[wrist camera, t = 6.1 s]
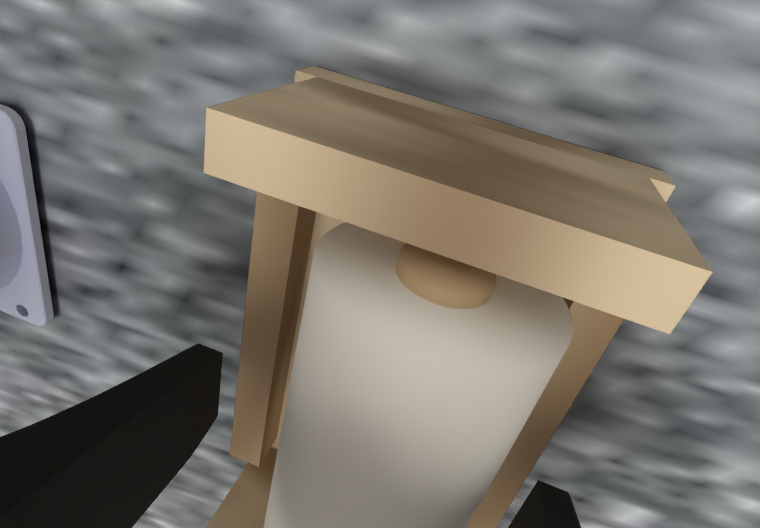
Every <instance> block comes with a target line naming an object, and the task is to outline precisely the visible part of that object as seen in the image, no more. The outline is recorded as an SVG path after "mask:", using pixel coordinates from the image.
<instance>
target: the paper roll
mask: <svg viewBox="0 0 760 528" xmlns="http://www.w3.org/2000/svg"><path fill="white" fill-rule="evenodd" d="M572 335H573V322H572V317H571V314H570V311H569V309H568V306H567V304H566V303H565V301H564V299H563V298H562V297H560V296H557V295H555V294H552V293H549V292H546V291H543V290H540V289H537V288H534V287H532V286H529V285H526V284H523V283H520V282H517V281H514V280H511V279H508V278H506V277H503V276H500V275H497V274H494V273H491V272H488V271H485V270H482V269H480V268H477V267H474V266H471V265H468V264H465V263H462V262H459V261H457V260H454V259H451V258H448V257H445V256H442V255H439V254H436V253H433V252H431V251H428V250H425V249H422V248H419V247H416V246H413V245H410V244H407V243H405V242H402V241H399V240H396V239H393V238H390V237H387V236H384V235H382V234H379V233H376V232H373V231H370V230H367V229H364V228H361V227H358V226H356V225H353V224H350V223H347V222H345V223H342V224H340V225H338V226H336V227H334V228H332V229H331V230H329V231H328V232H327V233H326V234H325V235H323V237H322V238H321V239H320V240H319V242H318V243H317V245H316V247H315V250H314V254H313V259H312V265H311V270H310V276H309V281H308V287H307V292H306V298H305V303H304V309H303V314H302V319H301V325H300V330H299V336H298V341H297V347H296V352H295V358H294V363H293V369H292V374H291V380H290V385H289V391H288V396H287V402H286V407H285V413H284V418H283V424H282V429H281V435H280V440H279V446H278V451H277V457H276V462H275V467H274V473H273V478H272V484H271V489H270V495H269V500H268V506H267V511H266V517H265V522H264V528H467V526H468V524H469V522H470V521H471V519H472V517H473V515H474V513H475V512H476V510H477V508H478V506H479V505H480V503H481V501H482V499H483V497H484V496H485V494H486V492H487V490H488V489H489V487H490V485H491V483H492V481H493V480H494V478H495V476H496V474H497V473H498V471H499V469H500V467H501V465H502V464H503V462H504V460H505V458H506V457H507V455H508V453H509V451H510V449H511V448H512V446H513V444H514V442H515V441H516V439H517V437H518V435H519V433H520V432H521V430H522V428H523V426H524V425H525V423H526V421H527V419H528V417H529V416H530V414H531V412H532V410H533V409H534V407H535V405H536V403H537V401H538V400H539V398H540V396H541V394H542V393H543V391H544V389H545V387H546V385H547V384H548V382H549V380H550V378H551V377H552V375H553V373H554V371H555V369H556V368H557V366H558V364H559V362H560V361H561V359H562V357H563V355H564V353H565V352H566V350H567V348H568V346H569V345H570V342H571V339H572Z"/></svg>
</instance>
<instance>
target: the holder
mask: <svg viewBox="0 0 760 528" xmlns="http://www.w3.org/2000/svg"><path fill="white" fill-rule="evenodd" d="M204 173H206V174H208V175H211V176H214V177H217V178H220V179H223V180H226V181H229V182H232V183H234V184H237V185H240V186H243V187H246V188H249V189H252V190H255V191H257V197H256V207H255V216H254V226H253V236H252V245H251V255H250V265H249V274H248V284H247V294H246V304H245V313H244V323H243V333H242V342H241V352H240V362H239V371H238V381H237V391H236V400H235V410H234V420H233V429H232V439H231V449H230V455H232V456H234V457H236V458H238V459H241V460H243V461H245V462H248V464H247V465H246V467H245V468H244V470H243V472H242V473H241V475H240V476H239V478H238V479H237V481H236V482H235V484H234V485H233V487H232V488H231V490H230V491H229V493H228V495H227V496H226V498H225V499H224V501H223V502H222V504H221V505H220V507H219V508H218V510H217V511H216V513H215V514H214V516H213V518H212V519H211V521H210V522H209V524H208V525H207V527H206V528H264V522H265V517H266V511H267V506H268V500H269V495H270V489H271V484H272V478H273V473H274V467H275V462H276V457H277V451H278V446H279V440H280V435H281V429H282V424H283V418H284V413H285V407H286V402H287V396H288V391H289V385H290V380H291V374H292V369H293V363H294V358H295V352H296V347H297V341H298V336H299V330H300V325H301V319H302V314H303V309H304V303H305V298H306V292H307V287H308V281H309V276H310V270H311V265H312V259H313V254H314V250H315V247H316V245H317V243H318V242H319V240H320V239H321V238H322V237H323V235H325V234H326V233H327V232H328V231H329V230H331V229H332V228H334V227H336V226H338V225H340V224H342V223H345V222H347V223H350V224H353V225H356V226H358V227H361V228H364V229H367V230H370V231H373V232H376V233H379V234H382V235H384V236H387V237H390V238H393V239H396V240H399V241H402V242H405V243H407V244H410V245H413V246H416V247H419V248H422V249H425V250H428V251H431V252H433V253H436V254H439V255H442V256H445V257H448V258H451V259H454V260H457V261H459V262H462V263H465V264H468V265H471V266H474V267H477V268H480V269H482V270H485V271H488V272H491V273H494V274H497V275H500V276H503V277H506V278H508V279H511V280H514V281H517V282H520V283H523V284H526V285H529V286H532V287H534V288H537V289H540V290H543V291H546V292H549V293H552V294H555V295H557V296H560V297H562V298H563V299H564V301H565V303H566V304H567V306H568V309H569V311H570V314H571V317H572V322H573V335H572V339H571V342H570V345H569V346H568V348H567V350H566V352H565V353H564V355H563V357H562V359H561V361H560V362H559V364H558V366H557V368H556V369H555V371H554V373H553V375H552V377H551V378H550V380H549V382H548V384H547V385H546V387H545V389H544V391H543V393H542V394H541V396H540V398H539V400H538V401H537V403H536V405H535V407H534V409H533V410H532V412H531V414H530V416H529V417H528V419H527V421H526V423H525V425H524V426H523V428H522V430H521V432H520V433H519V435H518V437H517V439H516V441H515V442H514V444H513V446H512V448H511V449H510V451H509V453H508V455H507V457H506V458H505V460H504V462H503V464H502V465H501V467H500V469H499V471H498V473H497V474H496V476H495V478H494V480H493V481H492V483H491V485H490V487H489V489H488V490H487V492H486V494H485V496H484V497H483V499H482V501H481V503H480V505H479V506H478V508H477V510H476V512H475V513H474V515H473V517H472V519H471V521H470V522H469V524H468V526H467V528H496V527H497V525H498V523H499V522H500V520H501V519H502V517H503V515H504V514H505V512H506V510H507V509H508V507H509V506H510V504H511V502H512V501H513V499H514V497H515V496H516V494H517V493H518V491H519V489H520V488H521V486H522V484H523V483H524V481H525V479H526V478H527V476H528V475H529V473H530V471H531V470H532V468H533V466H534V465H535V463H536V462H537V460H538V458H539V457H540V455H541V453H542V452H543V450H544V449H545V447H546V445H547V444H548V442H549V440H550V439H551V437H552V436H553V434H554V432H555V431H556V429H557V427H558V426H559V424H560V422H561V421H562V419H563V418H564V416H565V414H566V413H567V411H568V409H569V408H570V406H571V405H572V403H573V401H574V400H575V398H576V396H577V395H578V393H579V392H580V390H581V388H582V387H583V385H584V383H585V382H586V380H587V379H588V377H589V375H590V374H591V372H592V370H593V369H594V367H595V366H596V364H597V362H598V361H599V359H600V357H601V356H602V354H603V352H604V351H605V349H606V348H607V346H608V344H609V343H610V341H611V339H612V338H613V336H614V335H615V333H616V331H617V330H618V328H619V326H620V325H621V323H622V322H623V320H624V319H627V320H630V321H632V322H635V323H638V324H641V325H644V326H647V327H650V328H653V329H656V330H658V331H661V332H664V333H667V334H670V333H671V332H672V330H673V329H674V327H675V326H676V325H677V323H678V322H679V320H680V319H681V317H682V316H683V314H684V313H685V312H686V310H687V309H688V307H689V306H690V304H691V303H692V301H693V300H694V298H695V297H696V296H697V294H698V293H699V291H700V290H701V288H702V287H703V285H704V284H705V283H706V281H707V280H708V278H709V277H710V275H711V274H712V270H711V269H710V267H709V266H708V264H707V263H706V261H705V260H704V258H703V257H702V255H701V254H700V252H699V251H698V249H697V248H696V246H695V245H694V244H693V242H692V241H691V239H690V238H689V236H688V235H687V233H686V232H685V230H684V229H683V227H682V226H681V224H680V223H679V221H678V220H677V218H676V217H675V215H674V214H673V212H672V211H671V209H670V208H669V206H668V205H667V203H666V202H667V200H668V199H669V197H670V195H671V193H672V192H673V190H674V188H675V184H674V183H673V182H672V181H671V179H670V178H669V177H668V176H667V174H666V173H665V172H664V171H661V170H658V169H654V168H651V167H648V166H644V165H641V164H638V163H634V162H631V161H628V160H624V159H621V158H618V157H615V156H611V155H608V154H605V153H601V152H598V151H595V150H591V149H588V148H585V147H581V146H578V145H575V144H571V143H568V142H565V141H561V140H558V139H555V138H551V137H548V136H545V135H541V134H538V133H535V132H532V131H528V130H525V129H522V128H518V127H515V126H512V125H508V124H505V123H502V122H498V121H495V120H492V119H488V118H485V117H482V116H478V115H475V114H472V113H468V112H465V111H462V110H458V109H455V108H452V107H449V106H445V105H442V104H439V103H435V102H432V101H429V100H425V99H422V98H419V97H415V96H412V95H409V94H405V93H402V92H399V91H395V90H392V89H389V88H385V87H382V86H379V85H375V84H372V83H369V82H366V81H362V80H359V79H356V78H352V77H349V76H346V75H342V74H339V73H336V72H332V71H329V70H326V69H322V68H319V67H316V66H313V67H308V68H304V69H299V70H296V72H295V80H294V83H293V84H289V85H286V86H282V87H278V88H275V89H271V90H268V91H264V92H260V93H257V94H253V95H250V96H246V97H242V98H239V99H235V100H231V101H228V102H224V103H221V104H217V105H213V106H210V107H206V128H205V152H204Z"/></svg>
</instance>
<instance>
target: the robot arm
mask: <svg viewBox="0 0 760 528" xmlns="http://www.w3.org/2000/svg"><path fill="white" fill-rule="evenodd" d="M0 311H3V312H5V313H8V314H10V315H12V316H15V317H17V318H20V319H22V320H24V321H27V322H29V323H31V324H34V325H37V326H45V325H46V324H48V323H49V322H51V321H52V320H53V316H54V313H53V307H52V300H51V294H50V287H49V280H48V274H47V267H46V261H45V254H44V247H43V241H42V234H41V228H40V221H39V214H38V208H37V201H36V195H35V188H34V181H33V175H32V168H31V162H30V155H29V148H28V142H27V135H26V129H25V125H24V122H23V120H22V119H21V117H20V116H19V115H18V114H17V113H16V112H15V111H14V110H13V109H11V108H9V107H7V106H4V105H1V104H0ZM222 354H223V353H221V352H218V351H216V350H214V349H211V348H209V347H206V346H204V345H201V344H196V345H194V346H192V347H190V348H188V349H186V350H184V351H182V352H181V353H179V354H177V355H175V356H173V357H171V358H169V359H167V360H165V361H163V362H162V363H160V364H158V365H156V366H154V367H152V368H150V369H148V370H146V371H144V372H142V373H141V374H139V375H137V376H135V377H133V378H131V379H129V380H127V381H125V382H123V383H121V384H119V385H117V386H115V387H113V388H111V389H109V390H107V391H105V392H103V393H101V394H99V395H97V396H94V397H92V398H90V399H88V400H86V401H84V402H82V403H79V404H77V405H75V406H73V407H71V408H68V409H66V410H64V411H62V412H59V413H57V414H55V415H53V416H51V417H48V418H46V419H44V420H41V421H39V422H37V423H34V424H32V425H30V426H27V427H25V428H22V429H20V430H17V431H15V432H12V433H10V434H7V435H5V436H2V437H0V528H132V527H133V526H134V524H135V523H136V522H137V521H138V520H139V518H140V517H141V516H142V515H143V514H144V512H145V511H146V510H147V509H148V508H149V506H150V505H151V504H152V503H153V502H154V500H155V499H156V498H157V497H158V496H159V494H160V493H161V492H162V491H163V490H164V488H165V487H166V486H167V485H168V484H169V482H170V481H171V480H172V479H173V478H174V476H175V475H176V474H177V473H178V471H179V470H180V469H181V468H182V467H183V465H184V464H185V463H186V462H187V460H188V459H189V458H190V457H191V455H192V454H193V453H194V451H195V450H196V448H197V447H198V445H199V444H200V442H201V441H202V439H203V438H204V436H205V435H206V433H207V431H208V430H209V428H210V427H211V425H212V424H213V422H214V421H215V419H216V417H217V416H218V405H219V393H220V380H221V367H222ZM508 528H581V526H580V523H579V520H578V518H577V515H576V512H575V509H574V506H573V503H572V500H571V497H570V495H569V493H568V492H566V491H564V490H561V489H559V488H556V487H554V486H551V485H549V484H546V483H544V482H541V481H539V480H538V482H537V483H536V485H535V486H534V488H533V489H532V491H531V493H530V494H529V496H528V497H527V499H526V500H525V502H524V504H523V505H522V507H521V508H520V510H519V511H518V513H517V515H516V516H515V518H514V519H513V521H512V522H511V524H510V526H509V527H508Z"/></svg>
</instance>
